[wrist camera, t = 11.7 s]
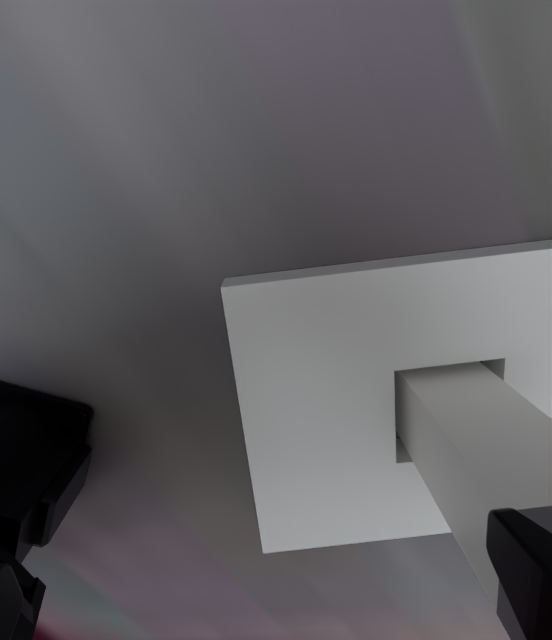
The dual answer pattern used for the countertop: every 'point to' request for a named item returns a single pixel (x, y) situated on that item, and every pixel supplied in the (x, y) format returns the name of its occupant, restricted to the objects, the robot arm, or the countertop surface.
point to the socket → (371, 378)
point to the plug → (476, 457)
